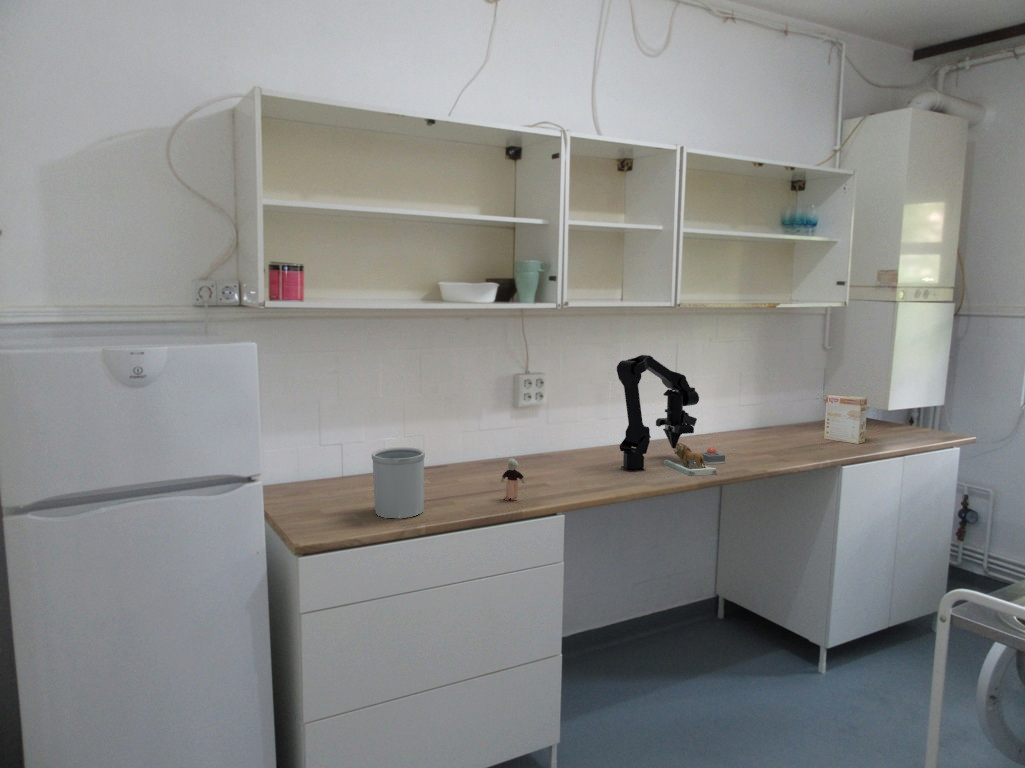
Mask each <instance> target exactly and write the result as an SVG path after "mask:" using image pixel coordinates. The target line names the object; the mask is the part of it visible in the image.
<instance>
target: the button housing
mask: <svg viewBox="0 0 1025 768" xmlns="http://www.w3.org/2000/svg"><path fill="white" fill-rule="evenodd" d="M700 453H701V454H702V455H703V459H704V463H705V464H707V465H719V464H720V465H721V464H726V463H725V462H726V455H725V454H721V453H719V452H717V451H716V455H707V451H706V452H703V451H702V452H700Z"/></svg>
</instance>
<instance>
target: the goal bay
mask: <svg viewBox="0 0 1025 768" xmlns="http://www.w3.org/2000/svg"><path fill="white" fill-rule="evenodd" d="M663 461H664V462H663V464H664V465H665V466H668V467H670V468H672V469H674V470H676V471H678V472H681V473H683V474H684V475H688V476H690V477H695V476H708V475H711V476H712V475H716V474H717V468H716V467H710V466H708V465H705V467H706V468H704V466H703V468H702V469H700V468H699V467H698V466H697V464H696V462H690V463H689V466H691V467H693V468H692V469H690V468H686V467H684V465H681V464H679V463H676V462H674V461H672V460H670V459H664V460H663ZM686 465H687V462H686ZM702 465H703V464H702Z"/></svg>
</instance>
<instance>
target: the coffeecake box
mask: <svg viewBox="0 0 1025 768" xmlns="http://www.w3.org/2000/svg"><path fill="white" fill-rule="evenodd" d="M825 398H826V402H825V417H824V418H825V419H824V433H823V434H824V435H823V437H824V438H823V439H824V440H828V441H835V442H836V441H837V442H843V443H851V444H857V445H860V444H862V443H865V442H866V427H867V426H866V424H867V413H868V412H867V410H868V397H864V396H863V397H862V396H853V395H843V394H829V395H828V394H827V395H826V396H825Z"/></svg>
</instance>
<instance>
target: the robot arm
mask: <svg viewBox="0 0 1025 768" xmlns="http://www.w3.org/2000/svg"><path fill="white" fill-rule="evenodd" d="M646 371H649V372H650V373H652V374H653V375H654V376H656V377H658V378H659V379H660V380H661V382H662V384H663V385H664V387H666V388H667V390H666V391H665V392H664V393H663V396H665V397H667V398H666V399H667V400H666V402H667V403H666V405H667V406H666V408H665V409H664V413H666V417H662V418H661V417H660V418H657V419H655V426H656V427H662V426H664V428H663V429H662V430H663V432H664V434H665V435H666V437H667V440H668V443H669V444H670V445H669V446H671V449H673V450H674V449H675V448H676V444H678V443H679V440H680V439H681V438H680V437H681V436H682V435H683V434H684V435H686V434H694V433H695V428H694V427H695V425H696V424H697V420H698V418H696V417H694V416H691V415H690V414H689V412H686V410H685V409H683V408H684V407H688V406H689V407H690V406H695V405H697V404H698V403H699V401H700V396H699V393H698V392H697V391H696V388H695V387H691V386H690V384H689V382H688V380H687V377H686V375H684V374H682V373H680V372H676V371H672V370H671V369H669V368H668V367H667V366H665V365H663V364H662V363H661V362H659V361H657V360H656V359H655V358H654V357H653V356H651V355H649V354H648V355H647V354H640V355H637V356H636V357H632V358H629V359H625V360H624V359H623V360H621V361H619V362H618V363H617V366H616V372H617V377H618V380H619V381H620V383H621V384H622V386H623V389H624V397H625V398H624V399H625V404H626V412H627V421H628V425H627V428H626V430H625V437H624V439H623V440H622V441H621V442H620V445H619V451H620V452H623V461H622V462H623V463H622V464H623V465H622V466H621V467H620V468H621V469H623V470H625V471H627V472H639V471H645V470H646V469H645V468H644V467H645V456H644V455H646V454H647V452H648V448H649V445H650V441H651V440H650V439H651V438H652V437H651V435H650V427H649V426H646V425H644V422H643V417H642V416H643V414H642V407H641V400H640V399H641V398H640V391H639V383H640V382H641V380H642V373H645V372H646Z"/></svg>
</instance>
